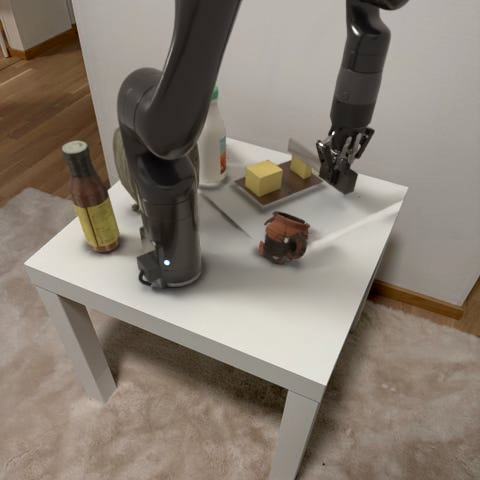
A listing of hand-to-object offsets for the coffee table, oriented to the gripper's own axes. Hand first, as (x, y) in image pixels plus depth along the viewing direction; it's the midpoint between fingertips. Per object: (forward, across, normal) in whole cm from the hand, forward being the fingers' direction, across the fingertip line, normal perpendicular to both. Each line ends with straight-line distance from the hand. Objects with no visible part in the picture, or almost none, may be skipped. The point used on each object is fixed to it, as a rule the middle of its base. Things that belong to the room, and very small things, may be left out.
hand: (335, 181), depth 90 cm
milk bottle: (+7, +16, -23) cm, 29 cm away
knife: (+1, 0, -6) cm, 6 cm away
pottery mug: (+7, +17, +6) cm, 19 cm away
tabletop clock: (+7, +30, -18) cm, 36 cm away
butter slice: (+5, -2, -12) cm, 13 cm away
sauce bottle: (+7, +45, -15) cm, 48 cm away
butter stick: (+5, +9, -12) cm, 16 cm away
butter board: (+6, +5, -12) cm, 14 cm away
